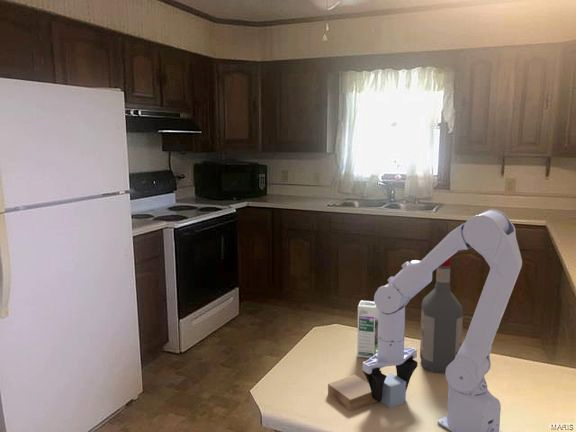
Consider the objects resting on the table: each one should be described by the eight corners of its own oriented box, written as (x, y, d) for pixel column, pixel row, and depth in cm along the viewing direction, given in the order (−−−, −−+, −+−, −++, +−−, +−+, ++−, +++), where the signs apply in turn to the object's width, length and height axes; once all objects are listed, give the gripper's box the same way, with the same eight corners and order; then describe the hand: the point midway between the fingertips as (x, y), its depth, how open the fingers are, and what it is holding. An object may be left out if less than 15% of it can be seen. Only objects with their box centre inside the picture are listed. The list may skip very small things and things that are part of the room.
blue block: (405, 402, 103) (406, 381, 102) (390, 408, 101) (390, 386, 100) (391, 393, 107) (392, 373, 106) (376, 398, 104) (376, 378, 104)
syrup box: (356, 357, 125) (357, 305, 123) (359, 348, 131) (360, 299, 129) (378, 359, 123) (379, 307, 121) (380, 350, 129) (381, 300, 127)
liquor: (424, 372, 116) (428, 256, 112) (418, 356, 125) (422, 248, 121) (462, 374, 115) (467, 257, 111) (453, 358, 124) (458, 248, 120)
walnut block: (377, 401, 104) (378, 389, 103) (350, 412, 100) (350, 399, 99) (354, 386, 111) (355, 374, 110) (327, 396, 106) (328, 383, 106)
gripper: (401, 324, 108) (400, 378, 110) (353, 337, 101) (352, 395, 103) (424, 334, 103) (422, 391, 105) (375, 349, 95) (374, 410, 97)
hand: (389, 394), depth 103 cm, fingers open, 7 cm apart
